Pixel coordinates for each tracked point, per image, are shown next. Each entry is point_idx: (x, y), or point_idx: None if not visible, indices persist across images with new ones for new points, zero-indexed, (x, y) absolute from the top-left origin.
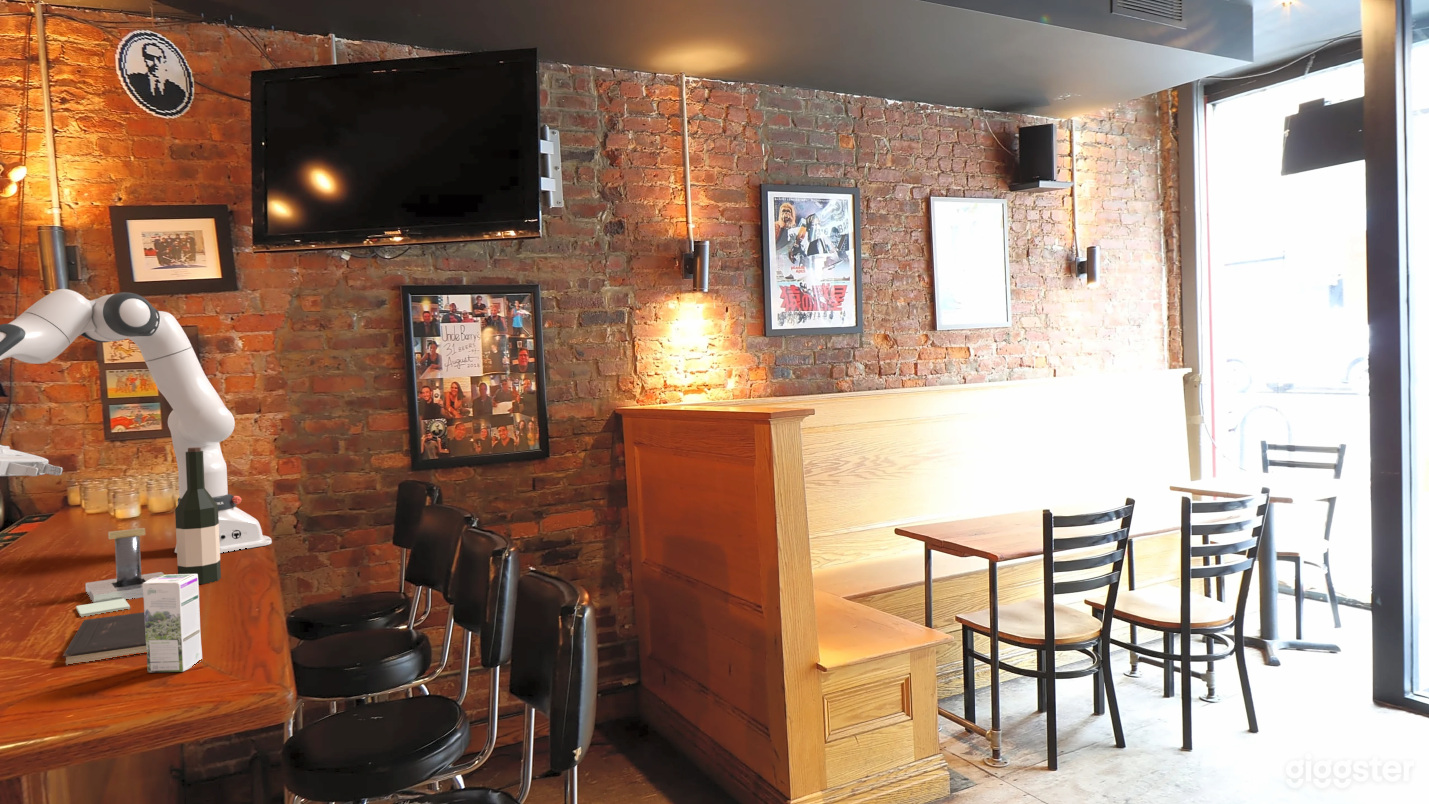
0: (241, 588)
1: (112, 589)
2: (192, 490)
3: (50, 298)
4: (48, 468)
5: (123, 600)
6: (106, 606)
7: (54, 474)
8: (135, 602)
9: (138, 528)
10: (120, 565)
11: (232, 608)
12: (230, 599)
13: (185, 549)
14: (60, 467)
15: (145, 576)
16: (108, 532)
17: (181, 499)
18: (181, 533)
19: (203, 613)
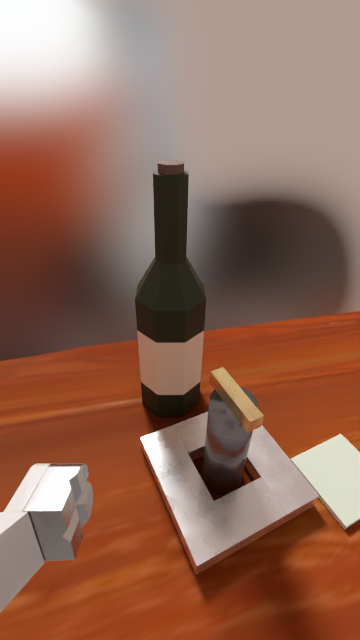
0: (234, 346)
1: (273, 477)
2: (186, 260)
3: None
4: (1, 566)
5: (305, 454)
6: (346, 467)
7: (89, 516)
8: (297, 442)
9: (218, 377)
10: (248, 448)
11: (330, 339)
12: (289, 347)
13: (201, 359)
14: (49, 464)
15: (172, 453)
16: (251, 421)
17: (182, 287)
18: (196, 341)
19: (353, 357)
